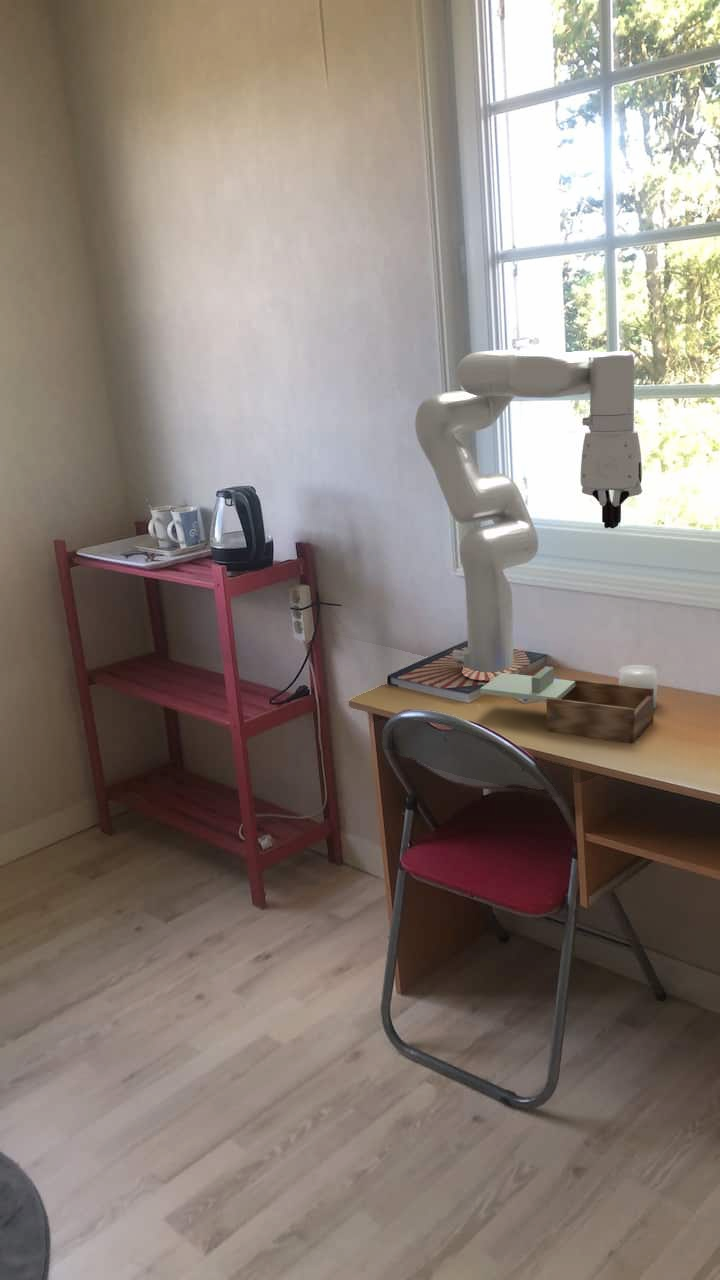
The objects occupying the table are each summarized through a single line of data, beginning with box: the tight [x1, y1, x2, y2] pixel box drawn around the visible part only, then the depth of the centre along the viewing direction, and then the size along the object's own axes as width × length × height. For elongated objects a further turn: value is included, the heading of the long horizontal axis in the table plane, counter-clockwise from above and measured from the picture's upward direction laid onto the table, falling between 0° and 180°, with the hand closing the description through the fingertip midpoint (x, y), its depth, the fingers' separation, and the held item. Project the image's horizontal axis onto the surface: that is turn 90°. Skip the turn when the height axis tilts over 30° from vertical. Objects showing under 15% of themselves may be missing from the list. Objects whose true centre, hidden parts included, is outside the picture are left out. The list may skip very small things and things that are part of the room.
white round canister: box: [618, 664, 658, 710], centre depth 208 cm, size 7×7×7 cm
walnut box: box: [546, 678, 654, 744], centre depth 199 cm, size 16×12×6 cm
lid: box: [479, 666, 575, 703], centre depth 205 cm, size 15×10×4 cm, turn 59°
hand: (611, 526), depth 197 cm, fingers closed
